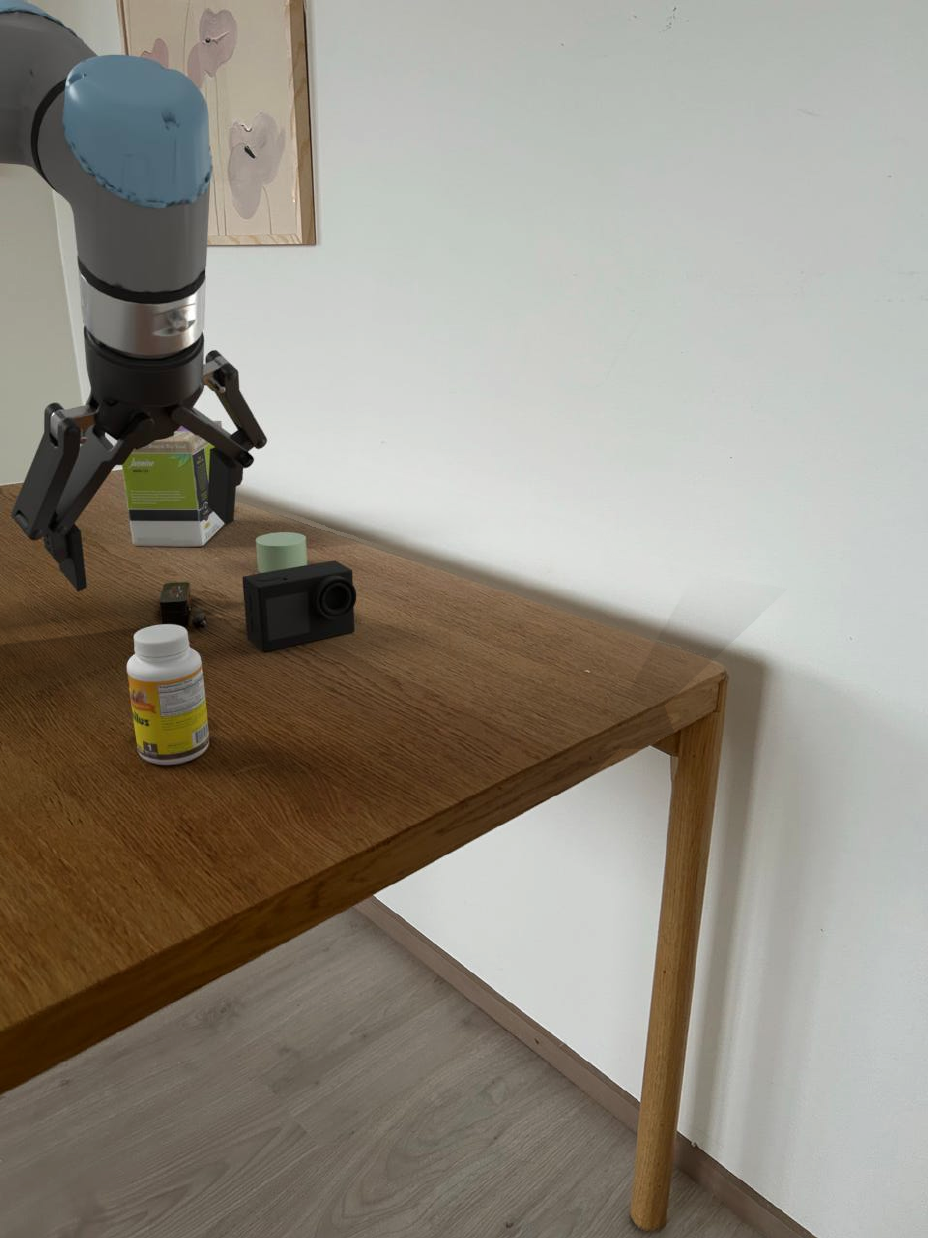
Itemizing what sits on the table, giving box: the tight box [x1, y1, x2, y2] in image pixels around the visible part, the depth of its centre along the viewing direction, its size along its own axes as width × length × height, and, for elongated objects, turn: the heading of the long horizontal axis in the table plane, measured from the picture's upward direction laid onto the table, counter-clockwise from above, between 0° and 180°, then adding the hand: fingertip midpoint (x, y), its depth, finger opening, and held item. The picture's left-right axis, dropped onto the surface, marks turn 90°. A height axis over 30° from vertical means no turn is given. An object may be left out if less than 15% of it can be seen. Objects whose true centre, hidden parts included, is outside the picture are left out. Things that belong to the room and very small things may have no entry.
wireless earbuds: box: [158, 581, 208, 629], centre depth 103 cm, size 5×7×3 cm, turn 11°
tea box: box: [121, 420, 226, 548], centre depth 133 cm, size 15×10×15 cm, turn 178°
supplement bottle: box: [126, 624, 210, 766], centre depth 75 cm, size 6×6×10 cm
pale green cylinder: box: [255, 531, 309, 573], centre depth 116 cm, size 6×6×5 cm
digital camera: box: [241, 559, 357, 653], centre depth 98 cm, size 10×5×7 cm, turn 123°
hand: (150, 544), depth 78 cm, fingers open, 13 cm apart
